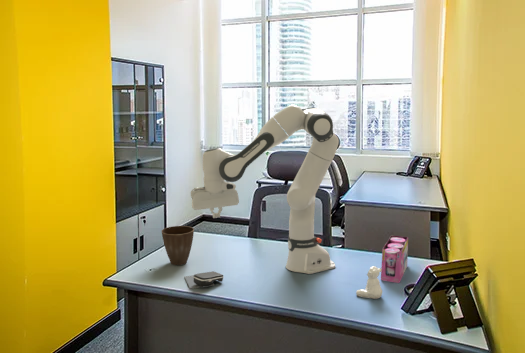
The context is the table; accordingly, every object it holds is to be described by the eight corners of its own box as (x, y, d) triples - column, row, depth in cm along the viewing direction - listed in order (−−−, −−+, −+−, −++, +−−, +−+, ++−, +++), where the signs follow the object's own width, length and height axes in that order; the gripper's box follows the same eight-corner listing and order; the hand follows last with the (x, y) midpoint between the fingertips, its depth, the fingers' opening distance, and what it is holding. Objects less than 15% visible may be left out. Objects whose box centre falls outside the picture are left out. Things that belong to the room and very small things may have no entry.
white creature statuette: (371, 289, 173) (371, 260, 171) (389, 296, 166) (390, 266, 164) (355, 295, 167) (355, 265, 165) (372, 303, 160) (373, 271, 158)
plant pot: (198, 257, 213) (197, 225, 210) (190, 268, 198) (189, 234, 195) (168, 257, 214) (167, 225, 212) (158, 267, 199) (156, 234, 197)
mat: (207, 274, 190) (207, 273, 190) (214, 285, 178) (214, 284, 178) (184, 277, 187) (184, 276, 187) (190, 289, 175) (190, 287, 175)
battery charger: (212, 279, 186) (191, 283, 177) (213, 270, 186) (192, 274, 177) (223, 283, 181) (201, 288, 173) (224, 274, 181) (202, 278, 173)
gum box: (399, 284, 177) (400, 252, 175) (379, 281, 180) (380, 250, 178) (407, 265, 198) (408, 236, 196) (389, 263, 201) (390, 234, 199)
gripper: (191, 189, 180) (194, 222, 182) (239, 184, 187) (240, 215, 189) (188, 187, 186) (191, 219, 188) (234, 182, 193) (236, 213, 195)
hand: (216, 217), depth 188 cm, fingers closed
